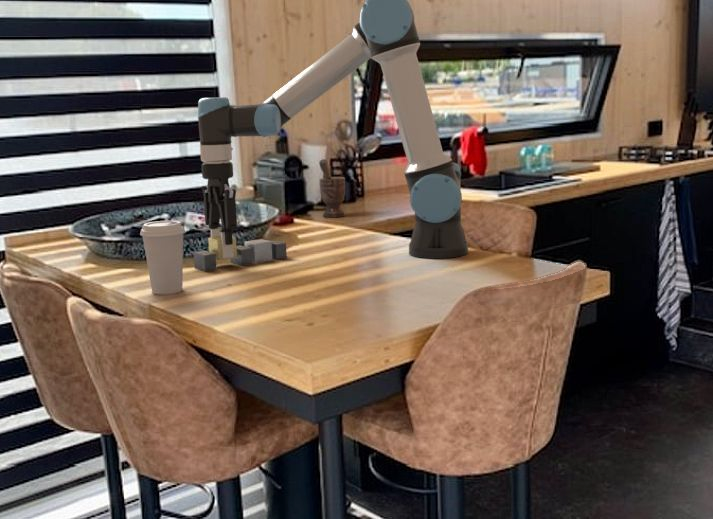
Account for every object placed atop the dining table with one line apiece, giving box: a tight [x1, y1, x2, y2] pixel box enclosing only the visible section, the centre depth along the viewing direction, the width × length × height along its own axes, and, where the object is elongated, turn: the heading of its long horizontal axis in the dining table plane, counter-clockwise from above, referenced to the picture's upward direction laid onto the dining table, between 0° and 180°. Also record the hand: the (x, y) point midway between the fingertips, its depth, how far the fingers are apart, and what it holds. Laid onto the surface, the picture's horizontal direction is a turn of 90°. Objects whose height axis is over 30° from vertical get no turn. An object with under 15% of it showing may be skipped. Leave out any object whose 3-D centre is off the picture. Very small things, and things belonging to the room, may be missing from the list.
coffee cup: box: [139, 220, 186, 296], centre depth 184 cm, size 10×10×15 cm
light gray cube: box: [244, 238, 273, 264], centre depth 216 cm, size 5×5×5 cm
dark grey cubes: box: [193, 239, 288, 272], centre depth 213 cm, size 6×23×4 cm, turn 126°
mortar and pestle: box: [319, 158, 346, 219], centre depth 285 cm, size 12×9×20 cm
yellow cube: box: [207, 236, 237, 261], centre depth 210 cm, size 5×5×5 cm
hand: (222, 255), depth 210 cm, fingers closed on yellow cube, 5 cm apart
